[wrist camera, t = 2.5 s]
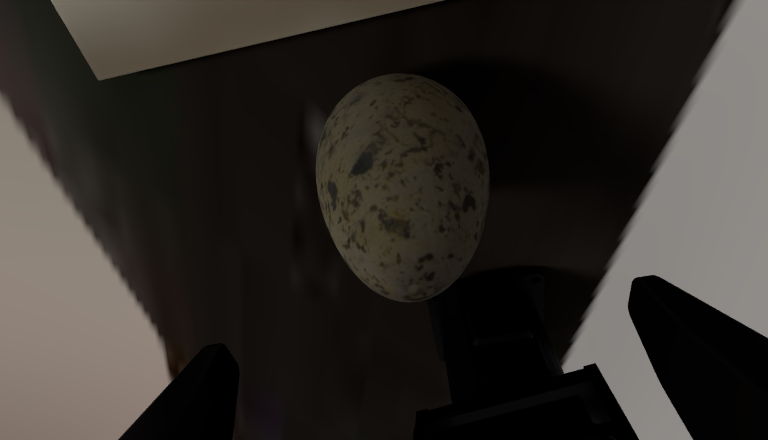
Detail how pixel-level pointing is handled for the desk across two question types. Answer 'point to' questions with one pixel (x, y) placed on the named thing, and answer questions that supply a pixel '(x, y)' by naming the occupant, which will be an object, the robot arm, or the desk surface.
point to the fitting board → (198, 26)
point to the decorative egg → (403, 185)
